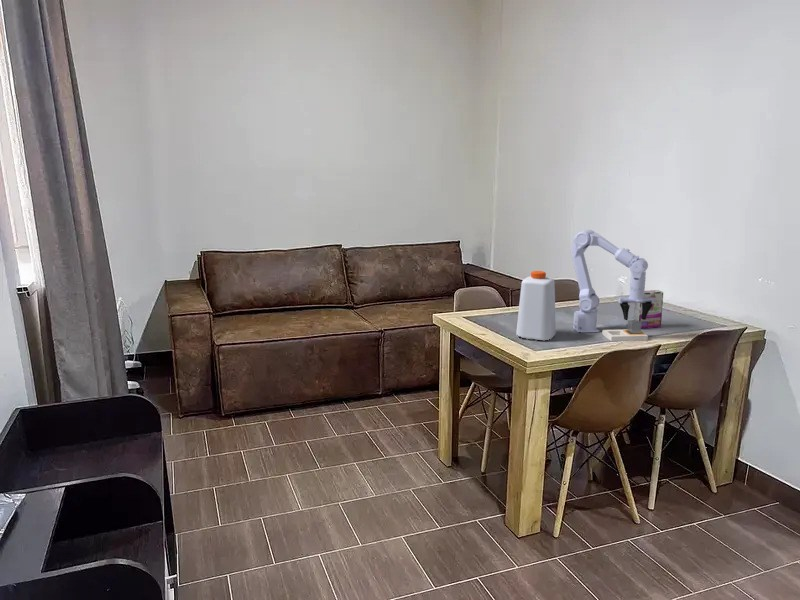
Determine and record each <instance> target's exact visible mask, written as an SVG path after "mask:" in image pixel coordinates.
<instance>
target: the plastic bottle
mask: <svg viewBox="0 0 800 600" xmlns="http://www.w3.org/2000/svg"><path fill="white" fill-rule="evenodd" d="M546 275H547V273H546V272H545V271H542V270H533V271H531V273H530V275H529V276H527V277H525V278H524V279H523V280H522V281H521V285H520V292H519V293H520V295H519V304H518V313H517V325H516V331H515V332H516V333H515V334H516V336H517V335H518V336H521V337H526V338H533V339H540V340H548V341H550V340H552V338H553V337H554V336H555V335H556V333H557V331H556V330H557V329H556V327H557V326H556V292H555V291H556V289H555V288H556V287H555V279H554V278H552V277H548V276H546ZM518 336H517V337H518ZM549 339H550V340H549Z"/></svg>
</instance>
